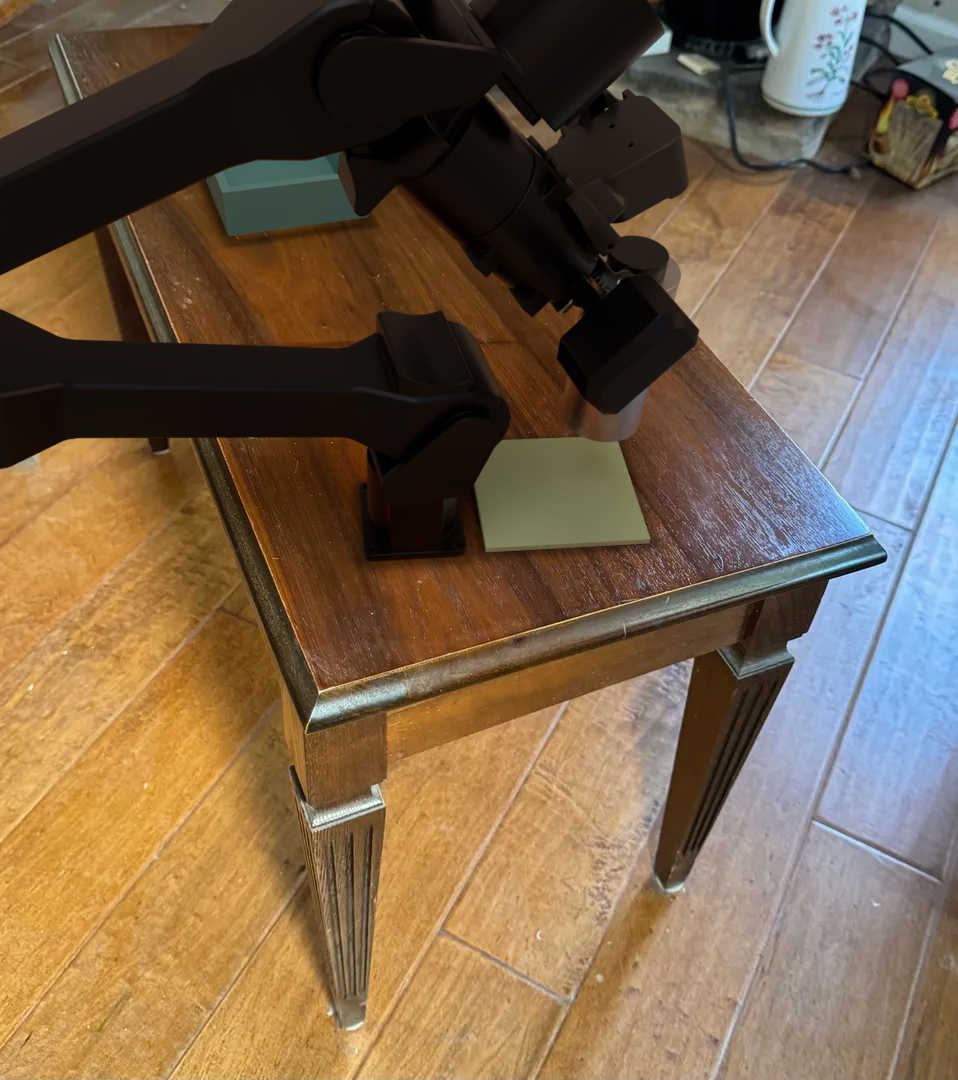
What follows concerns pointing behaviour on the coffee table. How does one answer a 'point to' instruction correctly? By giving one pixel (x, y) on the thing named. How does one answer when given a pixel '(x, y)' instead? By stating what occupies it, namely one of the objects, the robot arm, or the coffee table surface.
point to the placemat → (557, 496)
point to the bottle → (626, 256)
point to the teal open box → (280, 195)
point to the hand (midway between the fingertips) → (637, 337)
